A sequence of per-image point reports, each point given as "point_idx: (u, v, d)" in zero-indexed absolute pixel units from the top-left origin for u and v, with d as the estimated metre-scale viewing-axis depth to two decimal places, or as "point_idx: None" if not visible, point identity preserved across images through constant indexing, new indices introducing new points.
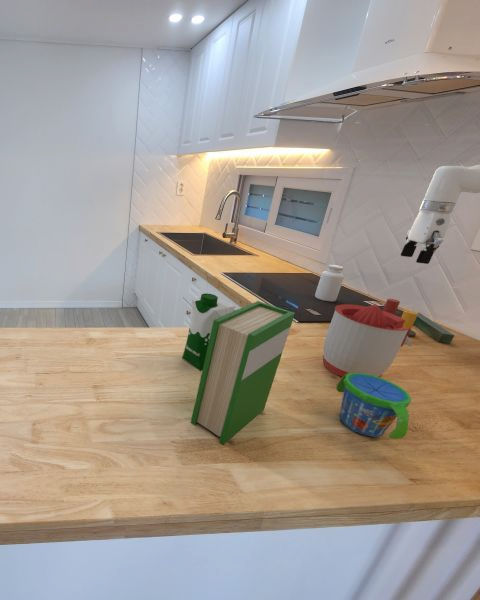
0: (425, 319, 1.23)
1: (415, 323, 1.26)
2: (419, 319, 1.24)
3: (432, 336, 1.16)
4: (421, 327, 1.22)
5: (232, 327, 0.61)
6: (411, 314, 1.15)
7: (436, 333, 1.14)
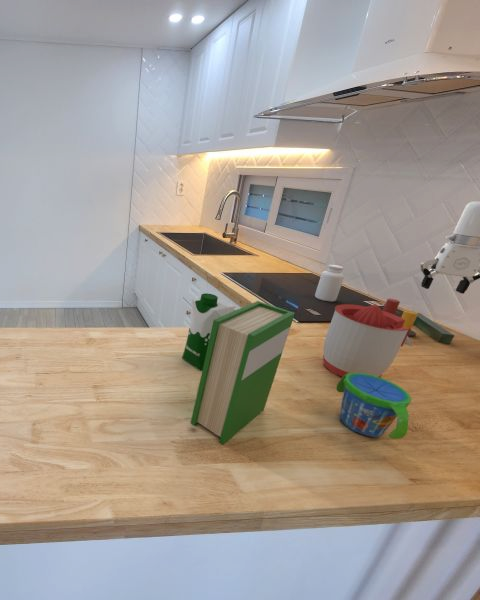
0: (425, 319, 1.23)
1: (415, 323, 1.26)
2: (419, 319, 1.24)
3: (432, 336, 1.16)
4: (421, 327, 1.22)
5: (232, 327, 0.61)
6: (411, 314, 1.15)
7: (436, 333, 1.14)
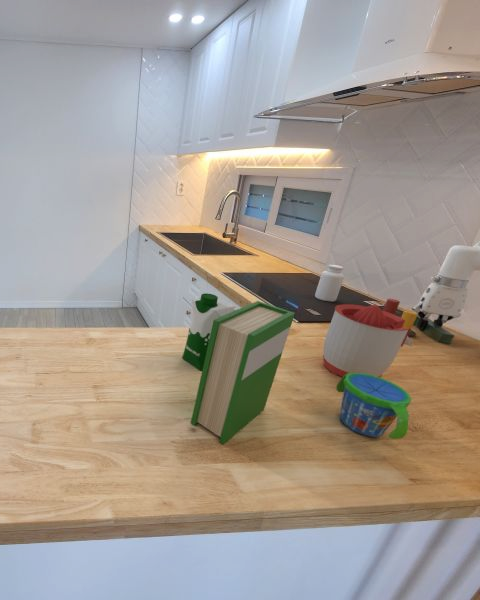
0: None
1: (415, 323, 1.26)
2: (419, 319, 1.24)
3: (432, 336, 1.16)
4: None
5: (232, 327, 0.61)
6: (411, 314, 1.15)
7: (436, 333, 1.14)
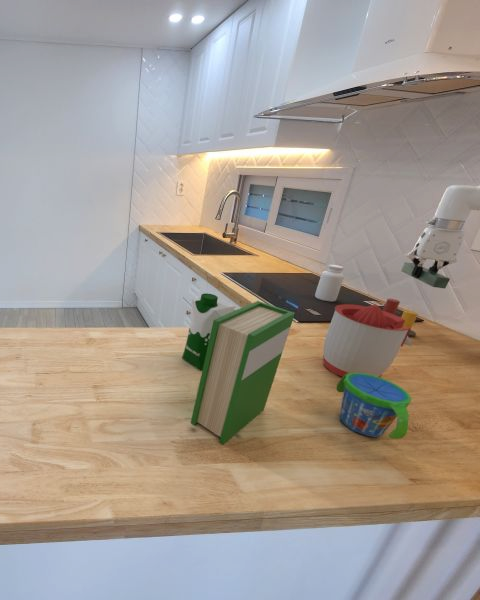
0: None
1: (410, 272, 1.21)
2: None
3: (426, 282, 1.12)
4: None
5: (232, 327, 0.61)
6: (411, 314, 1.15)
7: (431, 278, 1.10)
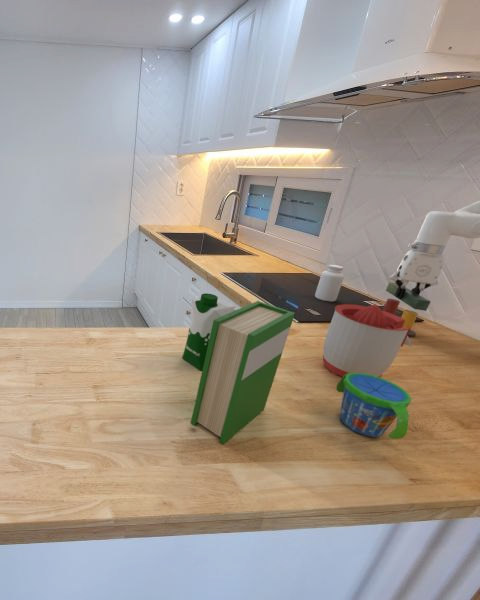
0: None
1: (393, 293, 1.25)
2: (397, 288, 1.23)
3: (409, 304, 1.15)
4: None
5: (232, 327, 0.61)
6: (411, 314, 1.15)
7: (413, 300, 1.13)
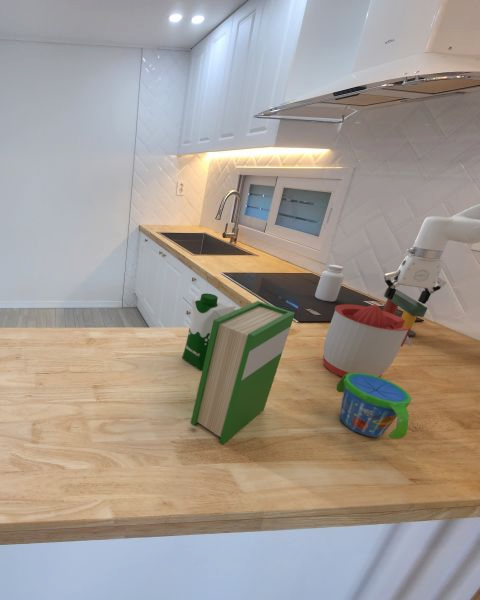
0: (401, 294, 1.23)
1: (391, 299, 1.25)
2: (395, 294, 1.24)
3: (406, 310, 1.16)
4: (397, 302, 1.22)
5: (232, 327, 0.61)
6: None
7: (410, 307, 1.14)
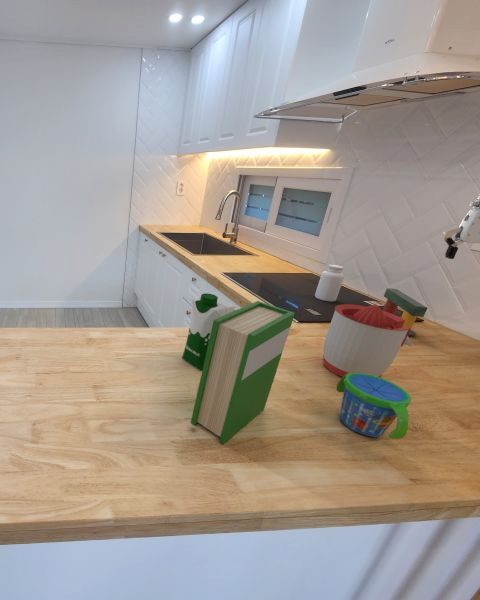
0: (401, 294, 1.23)
1: (391, 299, 1.25)
2: (395, 294, 1.24)
3: (406, 310, 1.16)
4: (397, 302, 1.22)
5: (232, 327, 0.61)
6: None
7: (410, 307, 1.14)
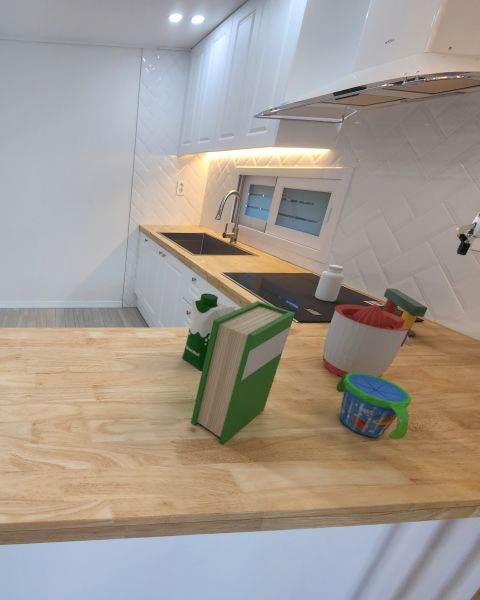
0: (401, 294, 1.23)
1: (391, 299, 1.25)
2: (395, 294, 1.24)
3: (406, 310, 1.16)
4: (397, 302, 1.22)
5: (232, 327, 0.61)
6: None
7: (410, 307, 1.14)
